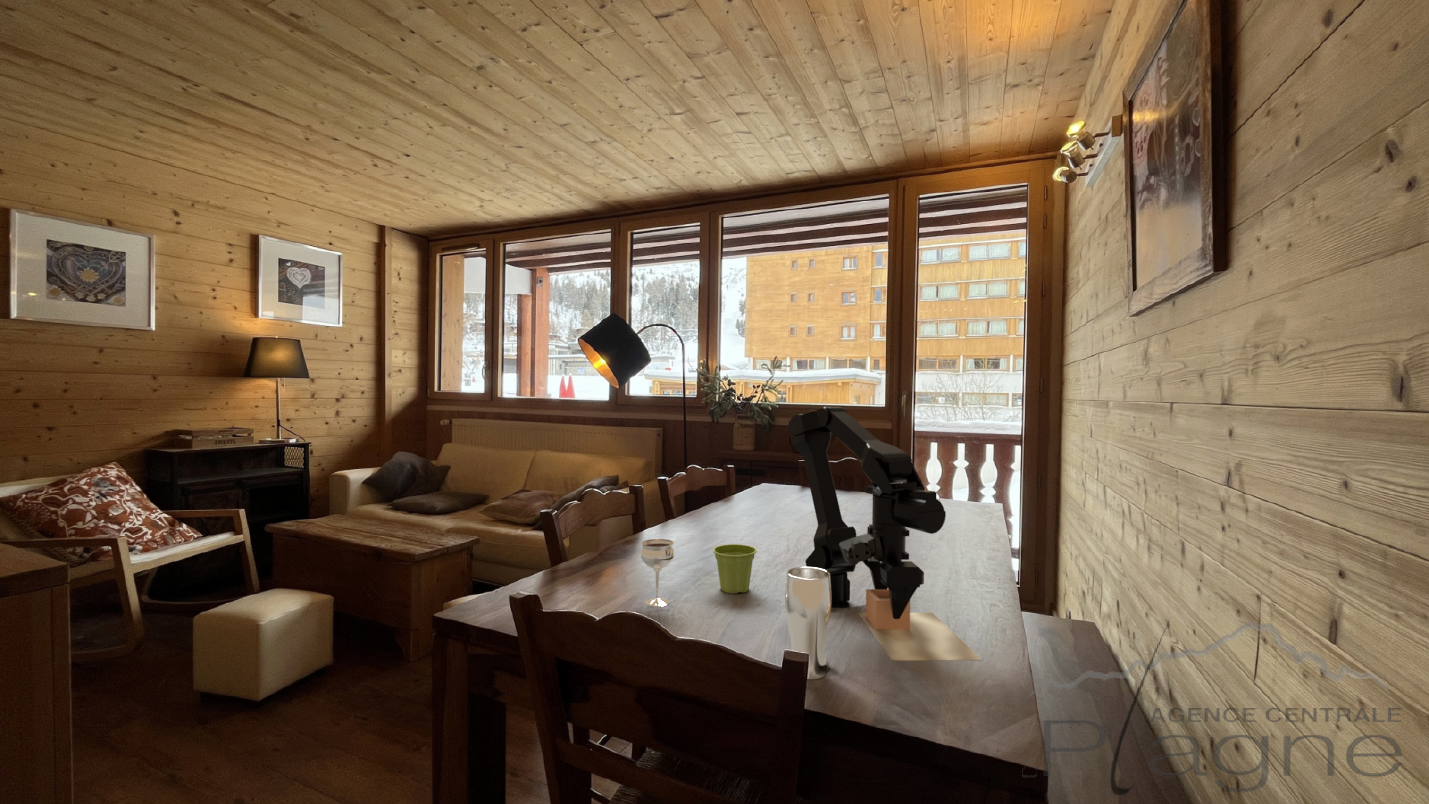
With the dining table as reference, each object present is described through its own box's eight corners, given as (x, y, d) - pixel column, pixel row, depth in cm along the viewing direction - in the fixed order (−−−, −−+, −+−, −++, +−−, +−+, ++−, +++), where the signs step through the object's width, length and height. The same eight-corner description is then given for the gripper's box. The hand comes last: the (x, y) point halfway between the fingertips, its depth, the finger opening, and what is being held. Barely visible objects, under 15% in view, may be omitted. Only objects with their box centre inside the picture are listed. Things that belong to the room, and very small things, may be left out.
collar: (875, 629, 105) (875, 600, 105) (865, 616, 111) (866, 589, 111) (909, 629, 105) (910, 600, 105) (898, 616, 111) (898, 589, 111)
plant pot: (705, 593, 128) (705, 552, 127) (722, 580, 136) (723, 542, 136) (747, 599, 124) (747, 557, 124) (762, 586, 133) (762, 546, 132)
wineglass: (633, 602, 122) (633, 543, 121) (658, 594, 127) (658, 537, 126) (655, 610, 117) (656, 549, 117) (681, 602, 122) (681, 542, 122)
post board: (891, 670, 93) (892, 634, 93) (857, 620, 113) (858, 591, 113) (982, 669, 93) (982, 634, 93) (932, 620, 113) (932, 591, 113)
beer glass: (780, 661, 96) (781, 566, 95) (823, 659, 96) (824, 565, 96) (789, 682, 89) (790, 580, 88) (836, 680, 89) (837, 579, 89)
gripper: (832, 511, 117) (831, 591, 117) (857, 534, 98) (856, 629, 98) (889, 511, 117) (888, 591, 117) (925, 534, 98) (924, 629, 98)
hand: (887, 609), depth 108 cm, fingers open, 9 cm apart
